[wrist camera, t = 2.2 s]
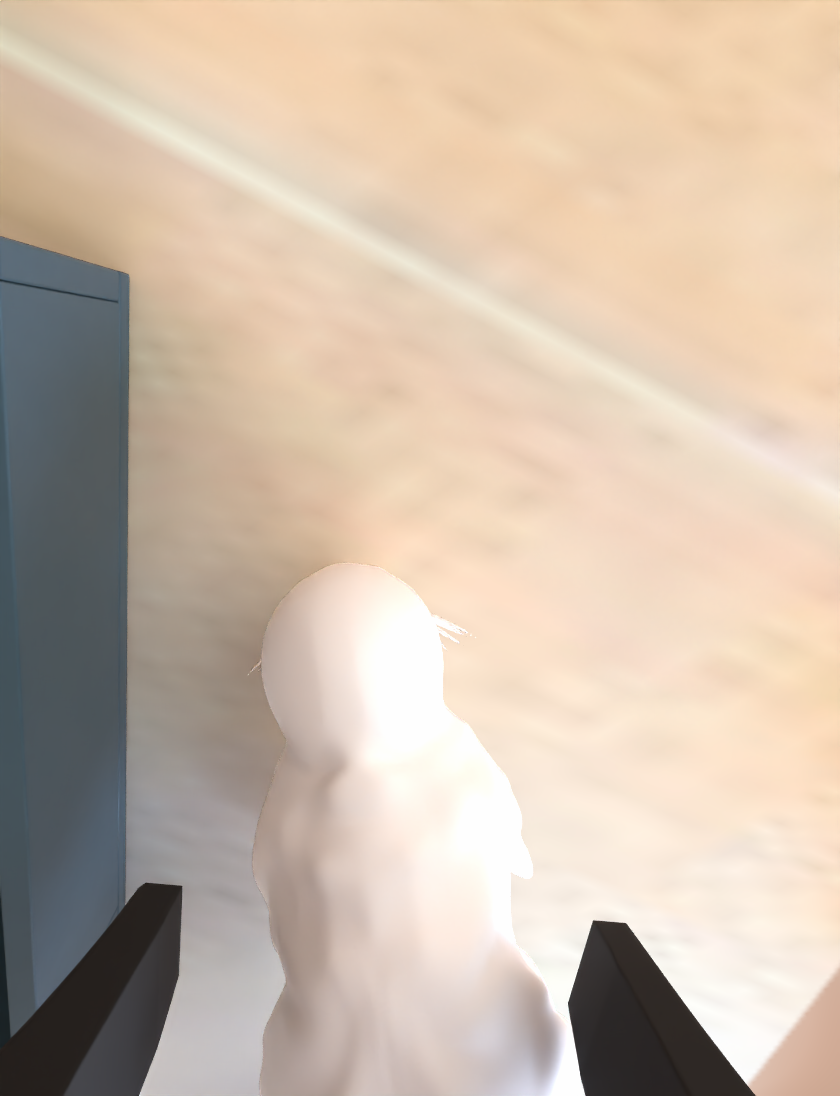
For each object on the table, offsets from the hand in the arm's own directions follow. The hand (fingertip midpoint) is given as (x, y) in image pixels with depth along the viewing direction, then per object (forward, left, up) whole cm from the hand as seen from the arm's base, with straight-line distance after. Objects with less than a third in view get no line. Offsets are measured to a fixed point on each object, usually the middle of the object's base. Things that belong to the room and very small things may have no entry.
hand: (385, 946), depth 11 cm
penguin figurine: (0, 0, -6) cm, 6 cm away
